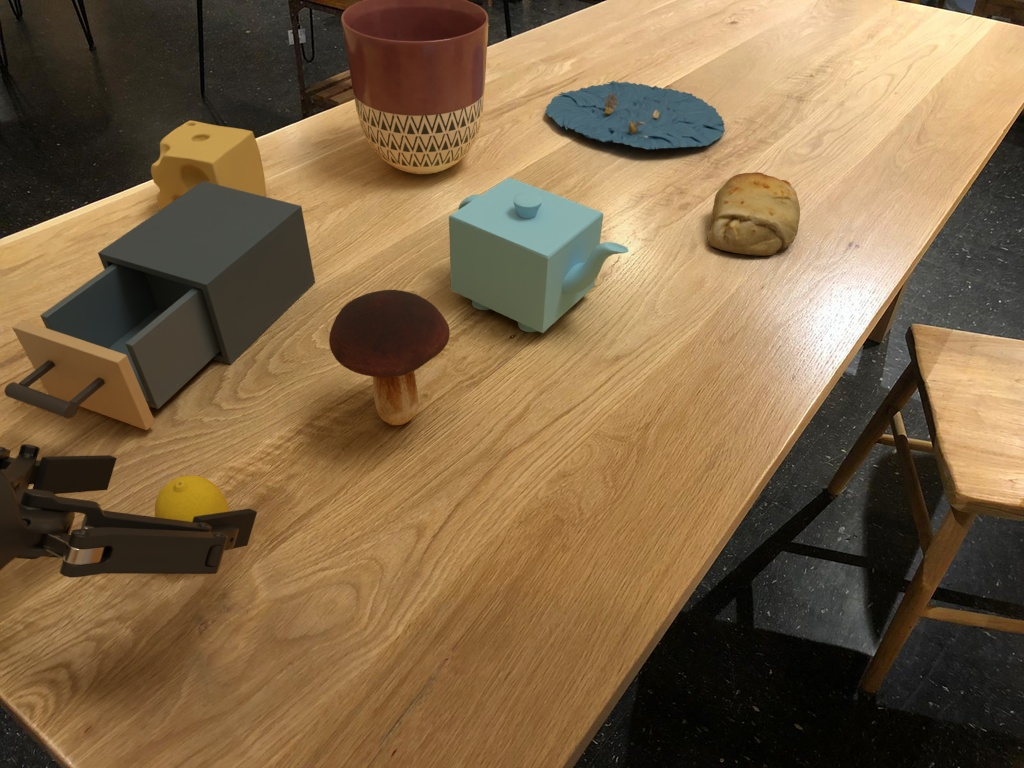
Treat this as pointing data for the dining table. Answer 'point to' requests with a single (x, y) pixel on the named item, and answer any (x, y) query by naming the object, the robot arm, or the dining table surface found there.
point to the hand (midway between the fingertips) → (176, 498)
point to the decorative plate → (638, 115)
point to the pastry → (754, 215)
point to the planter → (418, 78)
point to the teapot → (526, 252)
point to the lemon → (189, 499)
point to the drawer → (117, 346)
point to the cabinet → (225, 257)
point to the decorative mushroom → (389, 346)
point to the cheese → (207, 161)
